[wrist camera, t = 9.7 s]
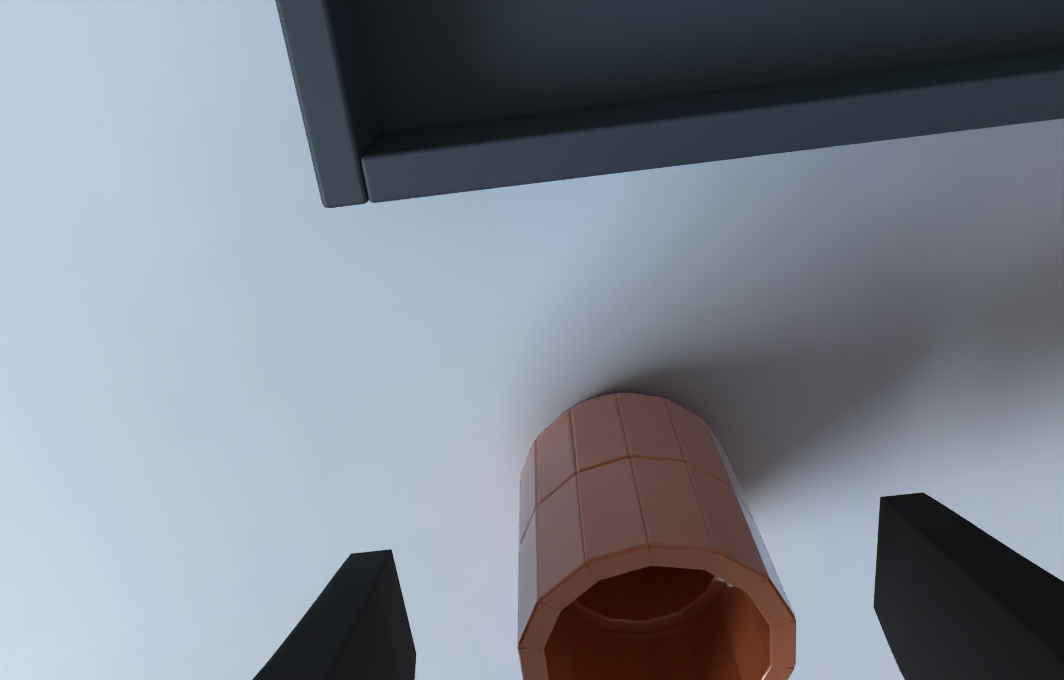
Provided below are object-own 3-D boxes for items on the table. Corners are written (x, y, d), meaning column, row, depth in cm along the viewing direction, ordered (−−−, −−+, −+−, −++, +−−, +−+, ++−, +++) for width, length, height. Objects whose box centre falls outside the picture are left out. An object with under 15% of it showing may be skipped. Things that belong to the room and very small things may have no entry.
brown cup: (717, 366, 14) (798, 529, 10) (723, 540, 15) (796, 744, 11) (508, 390, 14) (502, 559, 10) (534, 560, 16) (537, 769, 11)
